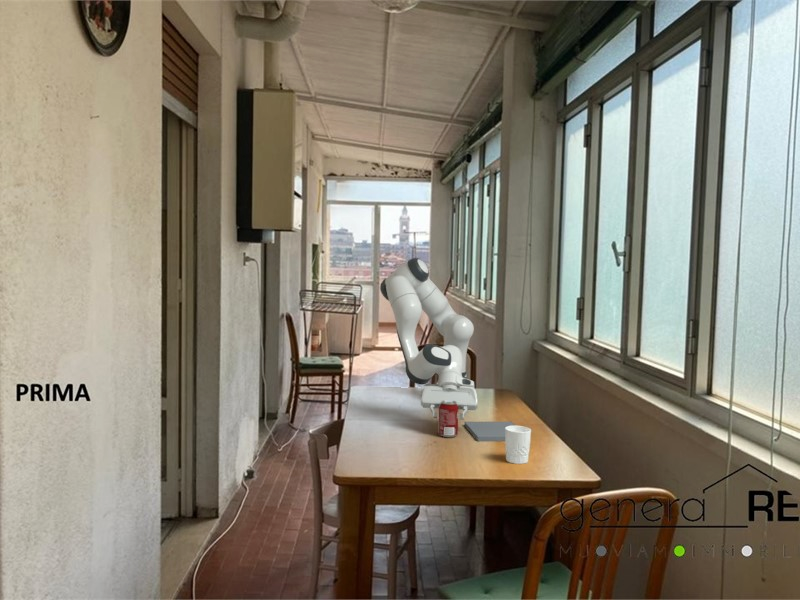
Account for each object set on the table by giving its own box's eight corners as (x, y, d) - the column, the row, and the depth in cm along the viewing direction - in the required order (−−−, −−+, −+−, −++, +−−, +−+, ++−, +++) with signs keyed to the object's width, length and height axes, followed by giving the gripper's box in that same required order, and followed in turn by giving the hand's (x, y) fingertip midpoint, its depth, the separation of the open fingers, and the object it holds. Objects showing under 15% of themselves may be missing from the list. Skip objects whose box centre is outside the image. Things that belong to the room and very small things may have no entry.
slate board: (464, 425, 228) (464, 421, 228) (510, 425, 230) (511, 421, 230) (477, 441, 208) (478, 436, 208) (528, 440, 210) (528, 436, 210)
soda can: (456, 439, 210) (457, 404, 209) (437, 437, 211) (438, 403, 211) (458, 433, 217) (459, 400, 216) (439, 432, 218) (440, 399, 217)
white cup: (501, 456, 192) (502, 425, 191) (525, 456, 192) (527, 425, 192) (507, 464, 184) (508, 432, 183) (533, 464, 185) (534, 432, 184)
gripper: (421, 378, 221) (418, 411, 212) (478, 381, 219) (477, 414, 210) (422, 388, 226) (419, 421, 216) (477, 391, 223) (477, 424, 214)
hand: (448, 418), depth 213 cm, fingers open, 8 cm apart
